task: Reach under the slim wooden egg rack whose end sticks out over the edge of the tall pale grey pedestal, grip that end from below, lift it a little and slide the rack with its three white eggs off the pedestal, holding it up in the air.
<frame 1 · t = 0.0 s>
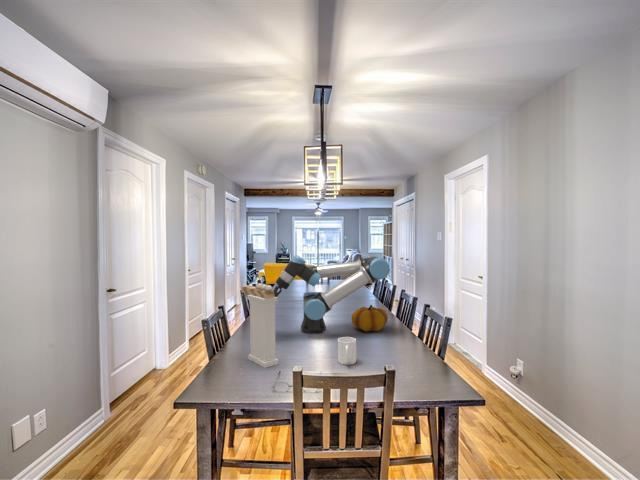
hand: (262, 311, 195), 15 cm above the table, tool tilted 35°, fingers open, 13 cm apart
egg rack: (261, 296, 160), point 30 cm above the table, touching pedestal
eyeglasses: (298, 383, 138), on the table
decorative pumpkin: (369, 329, 211), on the table
cup: (347, 363, 157), on the table
pedestal: (262, 361, 160), on the table
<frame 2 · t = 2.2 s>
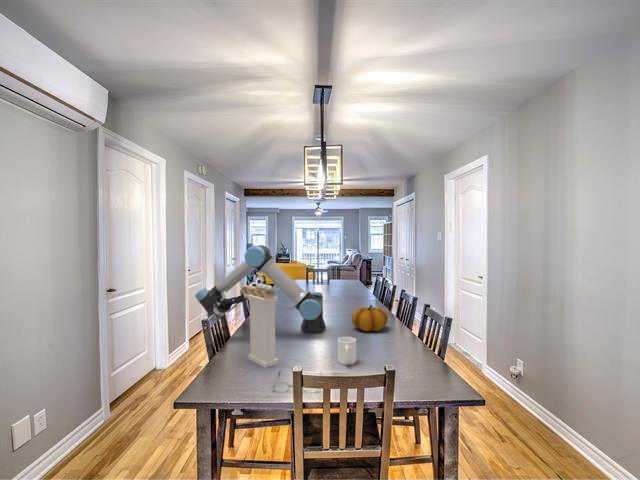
hand: (237, 292, 180), 28 cm above the table, tool pointing upward, fingers open, 13 cm apart
nothing on the table moved.
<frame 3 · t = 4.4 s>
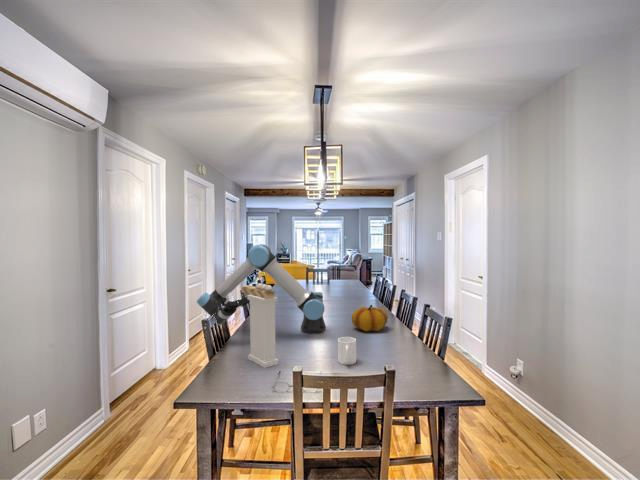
hand: (242, 294, 174), 29 cm above the table, tool pointing upward, fingers open, 13 cm apart
nothing on the table moved.
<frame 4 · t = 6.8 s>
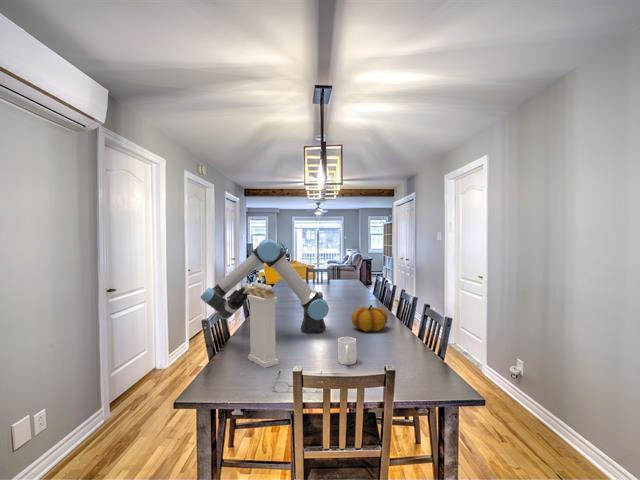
hand: (252, 285, 166), 34 cm above the table, tool pointing upward, fingers closed on egg rack, 4 cm apart
egg rack: (261, 296, 160), point 30 cm above the table, touching gripper, pedestal
everything else where it was.
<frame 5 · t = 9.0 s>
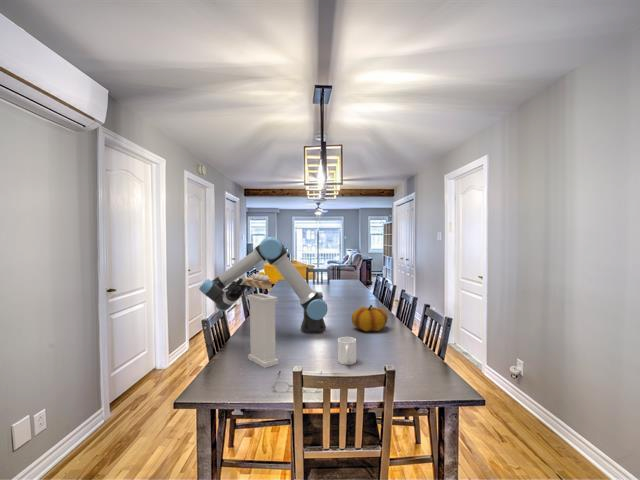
hand: (250, 276, 168), 38 cm above the table, tool pointing upward, fingers closed on egg rack, 4 cm apart
egg rack: (259, 286, 161), point 34 cm above the table, touching gripper
everything else where it was.
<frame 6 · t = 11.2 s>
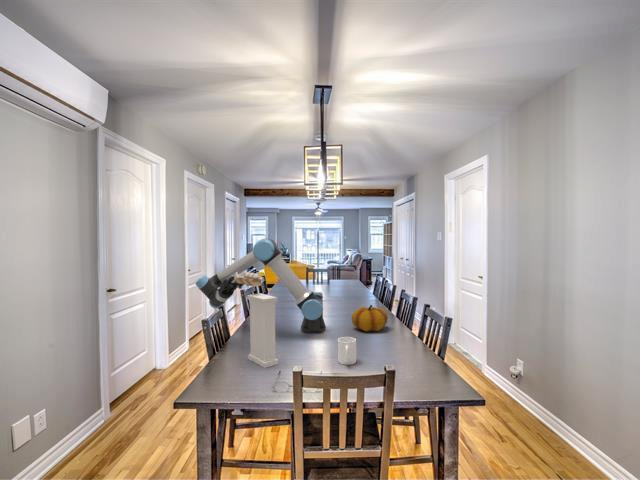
hand: (241, 274, 175), 38 cm above the table, tool pointing upward, fingers closed on egg rack, 4 cm apart
egg rack: (249, 284, 168), point 34 cm above the table, touching gripper
everything else where it was.
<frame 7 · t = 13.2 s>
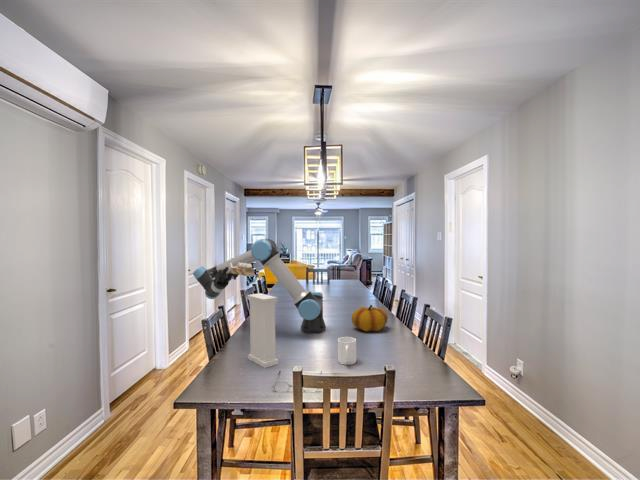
hand: (235, 265, 180), 43 cm above the table, tool pointing upward, fingers closed on egg rack, 4 cm apart
egg rack: (243, 274, 173), point 38 cm above the table, touching gripper
everything else where it was.
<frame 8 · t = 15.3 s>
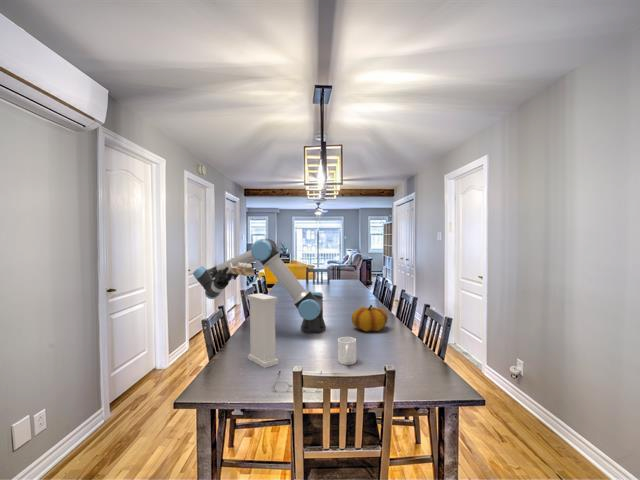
hand: (235, 265, 180), 43 cm above the table, tool pointing upward, fingers closed on egg rack, 4 cm apart
egg rack: (243, 274, 173), point 38 cm above the table, touching gripper
everything else where it was.
at the end: the gripper is holding egg rack; egg rack touching gripper; egg rack moved 19.9 cm from its start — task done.
